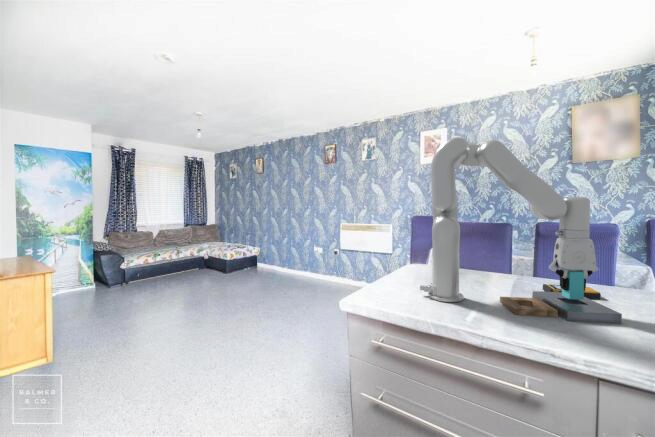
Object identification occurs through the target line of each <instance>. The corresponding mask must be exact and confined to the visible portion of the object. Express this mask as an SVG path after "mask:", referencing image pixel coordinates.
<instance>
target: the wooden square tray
mask: <svg viewBox="0 0 655 437" xmlns="http://www.w3.org/2000/svg"><path fill="white" fill-rule="evenodd" d="M499 303H500V304H501V305H503V306H504V307H505V308H506V309H507V310H508V311H510V313H512V314H514V315H516V316H530V317H531V316H533V317H534V316H535V317H550V318H552V317H553V318H557V317H559V316H558V311H557V310H556V309H554V308H552V307H551V306H549V305H547V304H546V303H544V302H542V301H541V300H539V299H537V298H532V297H519V296H516V297H515V296H499Z"/></svg>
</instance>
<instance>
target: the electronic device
mask: <svg viewBox="0 0 655 437" xmlns="http://www.w3.org/2000/svg"><path fill="white" fill-rule="evenodd" d="M543 290H544V291H543ZM542 291H543V292H562V288H561V287H560V284H549V283H543V284H542ZM584 297H586V298H588V299H590V300H600V299H601V297H602V295H601V293H600V291H597V290H595V289H594V288H592V287H589V286H586V288H585V291H584Z"/></svg>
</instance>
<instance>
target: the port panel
mask: <svg viewBox="0 0 655 437" xmlns="http://www.w3.org/2000/svg"><path fill="white" fill-rule="evenodd" d="M531 298H537V299H539V300H541V301H542V302H544V303H546V304H547V305H549V306H551V307H552V308H554V309H556V310H557V311H558V316H557V317H560V318H561V319H563V320H565V321H567V322H577V323H578V322H580V323H596V324H614V325H616V324H617V325H622V322H623V320H622V319H623V313H621V312H618V311H616V310H614V309H612V308H609V307H607V306H605V305H603V304H601V303H599V302H596V301H595V300H593V299H588V298H586V297H584V300H579V299H568V298H566V297H564V296H562V292H545V291H539V290H538V291H535V290H534V291H533V290H532V297H531Z"/></svg>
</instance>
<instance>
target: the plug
mask: <svg viewBox="0 0 655 437" xmlns="http://www.w3.org/2000/svg"><path fill="white" fill-rule="evenodd" d="M567 278H568V279H569V290H568V291H566V290H564V289H562V296H564V297H566V298H568V299H579V300H584V272H582V271H579V270H569V272H568V276H567Z"/></svg>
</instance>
